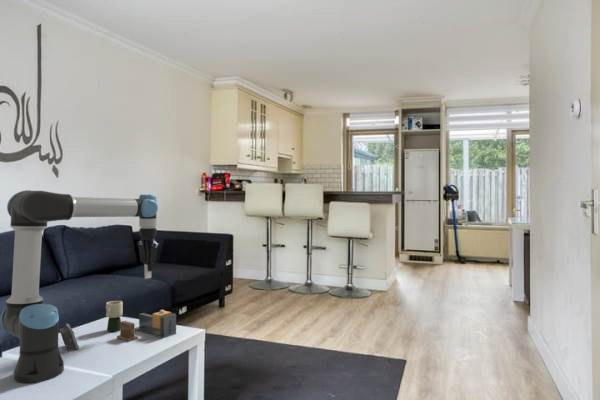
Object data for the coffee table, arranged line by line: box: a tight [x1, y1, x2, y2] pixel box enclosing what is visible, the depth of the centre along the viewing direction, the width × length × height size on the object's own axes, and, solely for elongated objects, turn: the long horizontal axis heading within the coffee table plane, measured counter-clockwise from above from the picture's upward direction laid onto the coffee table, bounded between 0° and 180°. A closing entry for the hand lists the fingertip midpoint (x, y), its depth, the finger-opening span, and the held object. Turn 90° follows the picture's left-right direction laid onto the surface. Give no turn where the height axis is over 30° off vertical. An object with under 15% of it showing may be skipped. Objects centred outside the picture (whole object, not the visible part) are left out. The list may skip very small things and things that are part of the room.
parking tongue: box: [116, 320, 139, 343], centre depth 188 cm, size 5×8×7 cm, turn 58°
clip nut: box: [152, 309, 172, 329], centre depth 194 cm, size 6×5×7 cm
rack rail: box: [134, 312, 177, 339], centre depth 197 cm, size 7×20×9 cm, turn 58°
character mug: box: [105, 300, 124, 332], centre depth 199 cm, size 11×7×13 cm, turn 176°
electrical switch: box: [58, 323, 80, 352], centre depth 176 cm, size 9×5×9 cm, turn 38°
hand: (147, 278), depth 199 cm, fingers closed
